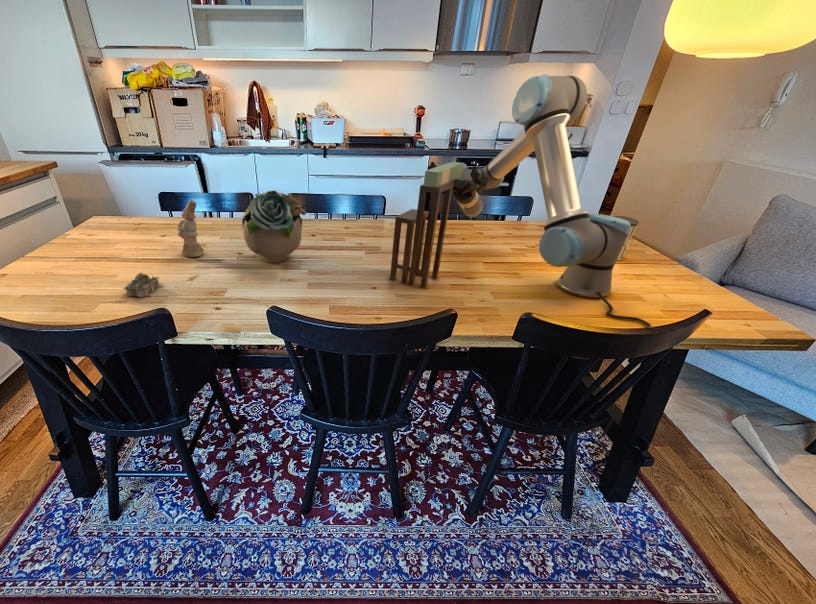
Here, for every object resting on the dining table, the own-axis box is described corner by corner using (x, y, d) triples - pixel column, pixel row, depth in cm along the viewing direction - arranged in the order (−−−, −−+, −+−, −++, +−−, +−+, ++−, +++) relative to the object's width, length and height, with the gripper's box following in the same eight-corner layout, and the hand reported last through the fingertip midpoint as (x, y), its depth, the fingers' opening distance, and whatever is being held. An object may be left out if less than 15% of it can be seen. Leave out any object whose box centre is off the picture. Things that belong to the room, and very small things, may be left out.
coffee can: (588, 250, 160) (602, 215, 152) (615, 251, 160) (630, 216, 152) (599, 260, 152) (615, 222, 144) (628, 261, 151) (644, 223, 143)
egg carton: (144, 282, 132) (141, 271, 129) (164, 285, 130) (161, 273, 128) (122, 296, 123) (118, 284, 121) (143, 299, 122) (140, 286, 119)
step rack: (405, 268, 144) (416, 176, 126) (439, 276, 138) (455, 181, 120) (389, 279, 135) (398, 182, 118) (424, 288, 129) (439, 188, 112)
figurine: (209, 252, 156) (199, 199, 144) (194, 259, 149) (183, 204, 138) (192, 249, 159) (181, 196, 147) (176, 256, 152) (164, 201, 141)
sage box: (449, 175, 127) (451, 161, 125) (461, 176, 126) (463, 162, 123) (423, 185, 114) (425, 170, 112) (436, 187, 112) (438, 172, 110)
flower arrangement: (319, 254, 154) (318, 188, 140) (281, 276, 137) (275, 202, 123) (269, 243, 165) (264, 180, 151) (227, 262, 147) (217, 193, 133)
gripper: (497, 209, 135) (487, 185, 117) (429, 199, 147) (411, 175, 128) (505, 187, 134) (496, 159, 116) (436, 179, 146) (418, 152, 127)
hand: (451, 168), depth 122 cm, fingers open, 13 cm apart
